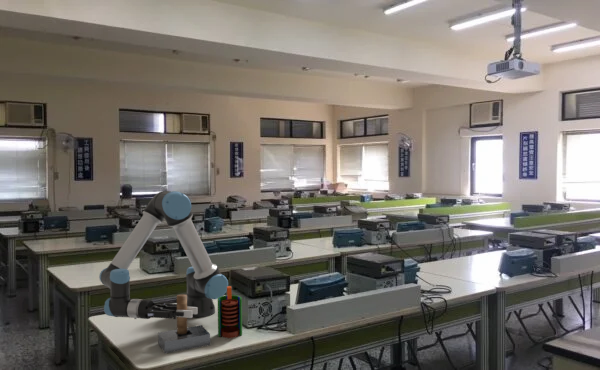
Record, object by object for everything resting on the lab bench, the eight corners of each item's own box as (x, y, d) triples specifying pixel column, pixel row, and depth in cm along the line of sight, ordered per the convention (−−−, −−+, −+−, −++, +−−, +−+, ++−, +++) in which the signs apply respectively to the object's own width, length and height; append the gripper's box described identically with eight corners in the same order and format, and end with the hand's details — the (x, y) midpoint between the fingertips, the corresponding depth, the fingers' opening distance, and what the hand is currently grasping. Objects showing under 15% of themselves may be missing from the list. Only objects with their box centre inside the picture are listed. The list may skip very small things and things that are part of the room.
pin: (185, 330, 197) (185, 293, 197) (188, 333, 194) (188, 296, 193) (176, 331, 195) (175, 295, 195) (178, 334, 192) (177, 297, 191)
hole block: (201, 335, 205) (201, 325, 204) (210, 345, 194) (210, 334, 194) (158, 343, 196) (158, 332, 196) (164, 353, 186) (164, 342, 186)
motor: (220, 339, 200) (219, 291, 199) (215, 332, 208) (215, 286, 208) (244, 336, 204) (243, 289, 203) (238, 329, 212) (238, 284, 211)
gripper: (152, 311, 207) (203, 315, 202) (130, 324, 190) (185, 328, 185) (152, 294, 206) (203, 297, 201) (129, 305, 190) (184, 309, 185)
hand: (194, 312), depth 193 cm, fingers closed on pin, 4 cm apart
